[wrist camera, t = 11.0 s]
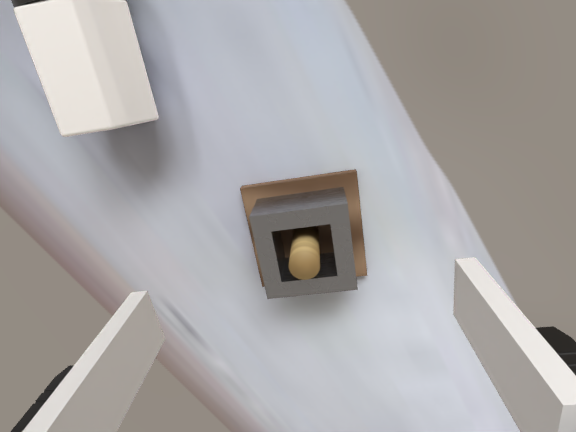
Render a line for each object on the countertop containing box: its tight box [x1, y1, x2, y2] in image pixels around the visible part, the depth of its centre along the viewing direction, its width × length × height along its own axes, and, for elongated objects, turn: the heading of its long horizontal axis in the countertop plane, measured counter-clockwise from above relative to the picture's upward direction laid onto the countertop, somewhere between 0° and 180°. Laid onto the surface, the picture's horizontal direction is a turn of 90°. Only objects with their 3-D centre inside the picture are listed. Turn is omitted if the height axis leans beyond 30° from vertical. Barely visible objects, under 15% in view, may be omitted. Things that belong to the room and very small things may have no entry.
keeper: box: [240, 169, 367, 287], centre depth 35 cm, size 12×12×8 cm
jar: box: [11, 0, 159, 137], centre depth 30 cm, size 9×8×12 cm
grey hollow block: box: [249, 187, 358, 299], centre depth 36 cm, size 9×9×5 cm
